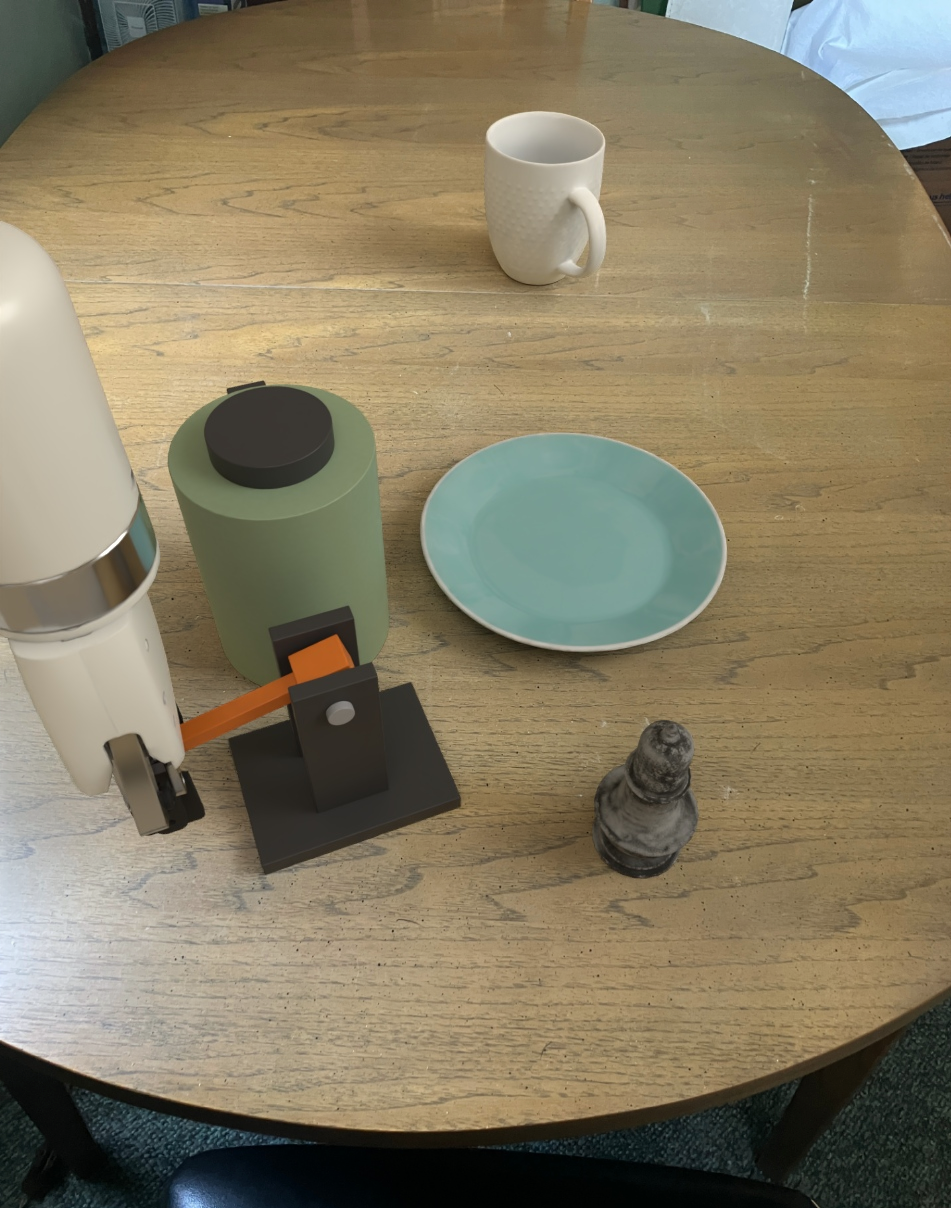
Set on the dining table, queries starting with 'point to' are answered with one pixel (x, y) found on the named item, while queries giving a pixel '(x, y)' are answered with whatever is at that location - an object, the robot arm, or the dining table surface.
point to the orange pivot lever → (265, 695)
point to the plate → (573, 542)
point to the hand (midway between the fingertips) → (164, 774)
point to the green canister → (282, 516)
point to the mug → (544, 195)
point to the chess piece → (647, 804)
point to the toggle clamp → (337, 756)
